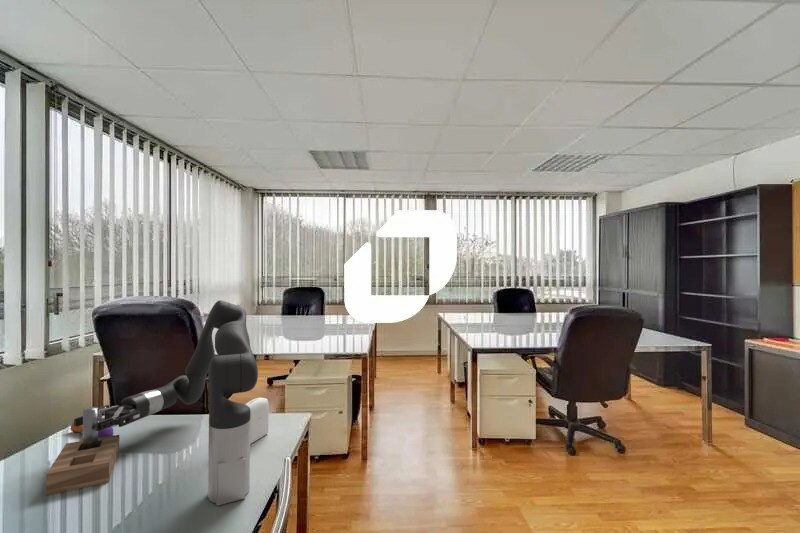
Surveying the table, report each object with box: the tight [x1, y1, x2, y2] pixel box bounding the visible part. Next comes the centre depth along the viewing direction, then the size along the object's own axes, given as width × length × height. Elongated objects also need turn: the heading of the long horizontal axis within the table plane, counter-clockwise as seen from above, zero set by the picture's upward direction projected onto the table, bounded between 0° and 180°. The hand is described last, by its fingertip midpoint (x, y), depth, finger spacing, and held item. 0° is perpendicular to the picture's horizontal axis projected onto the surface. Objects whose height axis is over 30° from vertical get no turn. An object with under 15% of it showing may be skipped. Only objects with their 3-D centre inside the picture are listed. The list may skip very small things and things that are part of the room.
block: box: [45, 434, 120, 496], centre depth 102 cm, size 18×12×5 cm, turn 29°
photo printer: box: [244, 397, 270, 445], centre depth 123 cm, size 10×4×12 cm, turn 160°
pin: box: [82, 406, 99, 450], centre depth 106 cm, size 3×3×14 cm
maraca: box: [69, 422, 114, 438], centre depth 122 cm, size 6×6×20 cm
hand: (85, 425), depth 105 cm, fingers open, 8 cm apart
